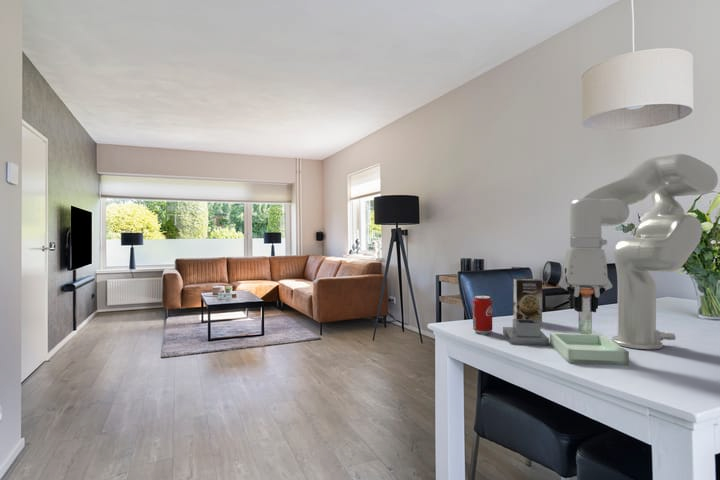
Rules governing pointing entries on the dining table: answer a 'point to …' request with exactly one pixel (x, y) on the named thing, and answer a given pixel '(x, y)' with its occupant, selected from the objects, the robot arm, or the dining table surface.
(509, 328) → the bracket
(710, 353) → the dining table surface
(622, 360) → the tray
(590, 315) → the lock pin
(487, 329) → the beverage can
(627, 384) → the dining table surface
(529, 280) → the coffee box
